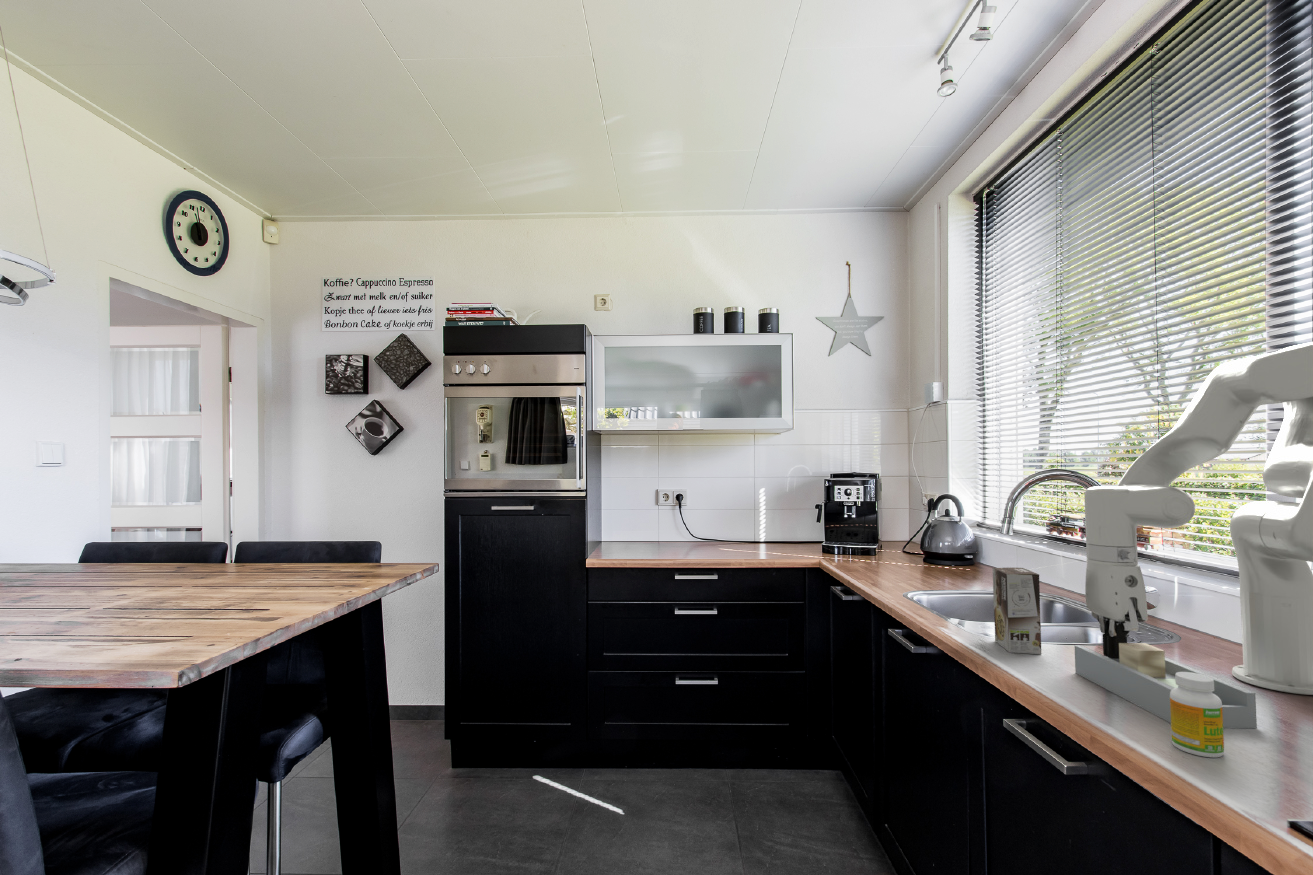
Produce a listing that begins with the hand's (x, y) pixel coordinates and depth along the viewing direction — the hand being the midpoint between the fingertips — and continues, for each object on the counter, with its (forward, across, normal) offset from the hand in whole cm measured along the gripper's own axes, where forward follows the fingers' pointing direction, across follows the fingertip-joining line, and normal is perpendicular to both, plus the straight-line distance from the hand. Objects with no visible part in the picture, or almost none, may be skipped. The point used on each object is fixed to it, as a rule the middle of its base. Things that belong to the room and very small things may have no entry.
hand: (1115, 656), depth 113 cm
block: (+1, -6, 0) cm, 7 cm away
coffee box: (+4, +19, +8) cm, 21 cm away
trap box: (+4, -9, 0) cm, 10 cm away
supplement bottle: (+4, -28, +8) cm, 30 cm away
